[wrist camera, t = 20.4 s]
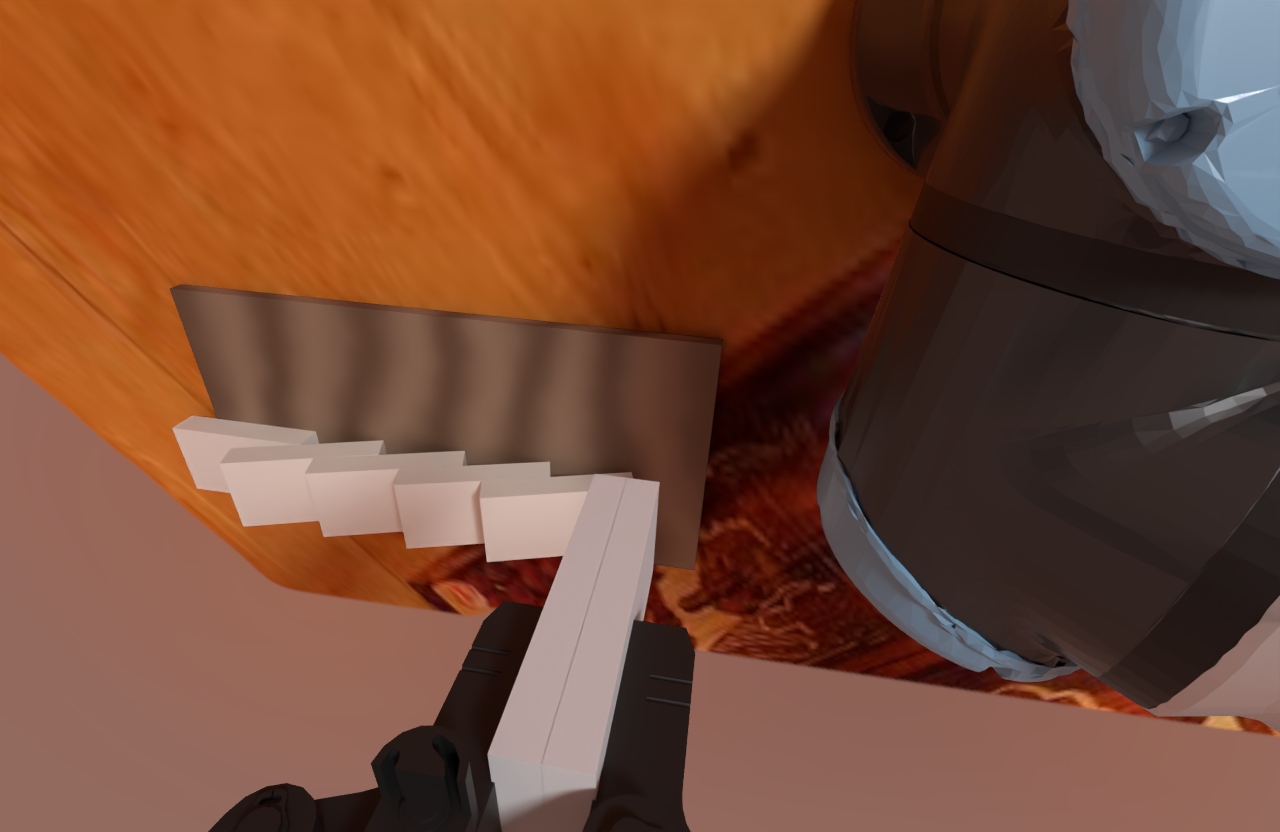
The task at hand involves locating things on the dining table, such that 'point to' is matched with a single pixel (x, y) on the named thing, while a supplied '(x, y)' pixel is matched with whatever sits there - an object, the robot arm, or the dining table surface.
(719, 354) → the walnut board
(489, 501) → the loose domino
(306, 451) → the domino
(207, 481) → the domino
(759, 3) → the dining table surface
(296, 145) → the dining table surface
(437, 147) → the dining table surface
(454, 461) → the domino
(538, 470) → the domino
